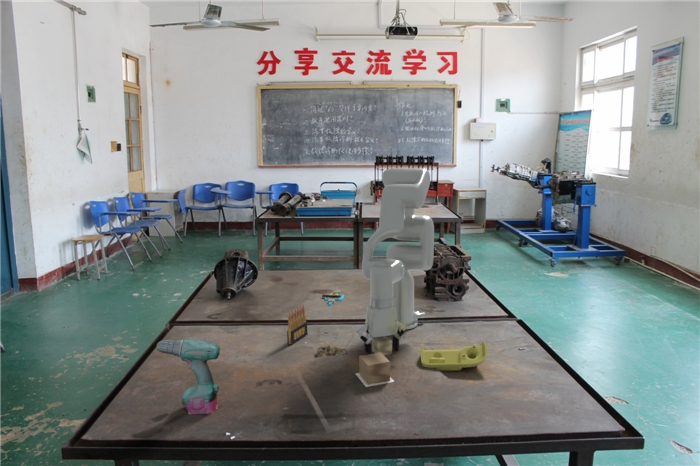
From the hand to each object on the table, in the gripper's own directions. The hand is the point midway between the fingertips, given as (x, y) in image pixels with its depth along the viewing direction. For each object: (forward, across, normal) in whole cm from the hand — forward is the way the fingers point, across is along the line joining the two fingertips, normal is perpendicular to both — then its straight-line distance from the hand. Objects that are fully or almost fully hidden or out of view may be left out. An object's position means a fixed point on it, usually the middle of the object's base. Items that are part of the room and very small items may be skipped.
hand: (381, 351), depth 174 cm
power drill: (+2, +61, +13) cm, 62 cm away
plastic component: (+2, -18, +15) cm, 23 cm away
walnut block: (0, +9, +16) cm, 18 cm away
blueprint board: (+2, +9, +15) cm, 17 cm away
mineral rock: (+2, +15, -6) cm, 17 cm away
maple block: (+2, 0, 0) cm, 2 cm away
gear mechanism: (+2, -3, -65) cm, 65 cm away
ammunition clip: (+2, +23, -24) cm, 33 cm away
